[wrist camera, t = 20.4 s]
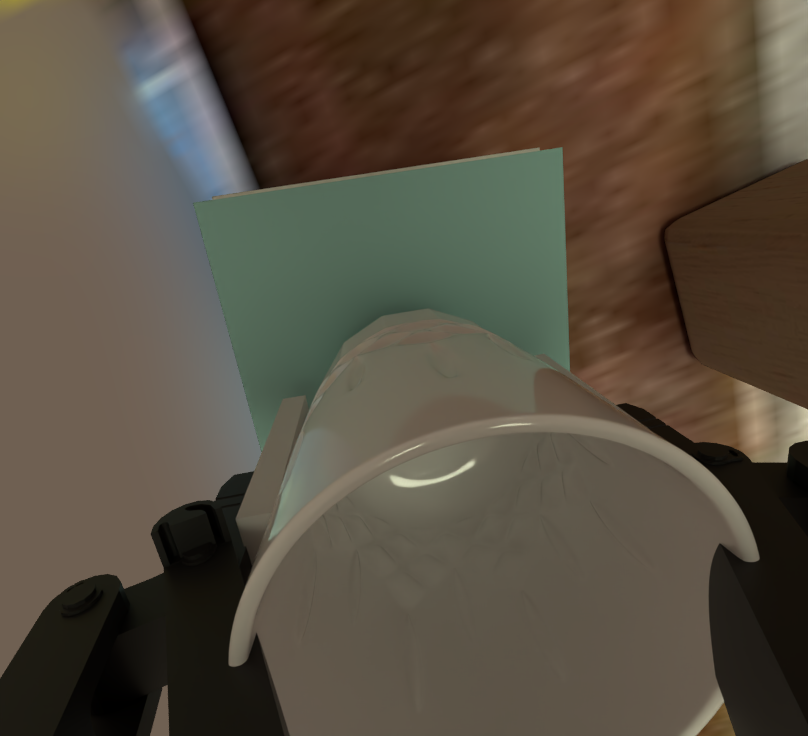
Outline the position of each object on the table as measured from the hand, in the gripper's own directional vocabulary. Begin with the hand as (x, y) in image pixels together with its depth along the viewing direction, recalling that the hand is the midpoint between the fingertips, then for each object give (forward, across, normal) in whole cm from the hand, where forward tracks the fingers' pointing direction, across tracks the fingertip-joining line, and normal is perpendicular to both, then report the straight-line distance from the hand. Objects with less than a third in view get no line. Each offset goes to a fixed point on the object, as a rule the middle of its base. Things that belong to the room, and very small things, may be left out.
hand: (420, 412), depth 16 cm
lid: (+5, 0, 0) cm, 5 cm away
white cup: (0, 0, 0) cm, 1 cm away
